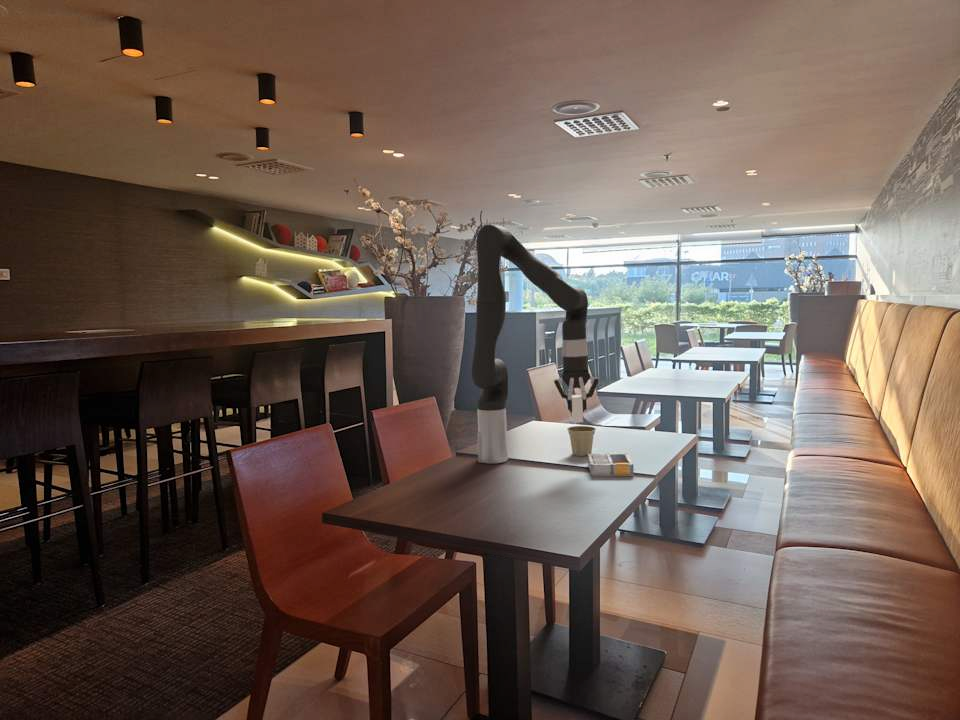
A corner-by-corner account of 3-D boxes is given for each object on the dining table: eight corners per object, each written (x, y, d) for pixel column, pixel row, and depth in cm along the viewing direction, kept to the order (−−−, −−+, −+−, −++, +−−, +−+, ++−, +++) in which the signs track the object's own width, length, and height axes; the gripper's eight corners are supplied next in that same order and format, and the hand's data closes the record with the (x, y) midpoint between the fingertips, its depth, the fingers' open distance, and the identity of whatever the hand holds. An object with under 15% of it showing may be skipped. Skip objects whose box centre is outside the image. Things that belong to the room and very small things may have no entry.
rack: (591, 477, 180) (591, 464, 180) (588, 465, 194) (587, 453, 193) (633, 476, 179) (633, 463, 179) (627, 464, 192) (627, 452, 192)
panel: (572, 422, 184) (572, 399, 184) (571, 417, 192) (571, 395, 192) (583, 422, 184) (582, 398, 183) (581, 417, 192) (580, 394, 191)
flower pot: (595, 450, 212) (594, 425, 211) (597, 457, 202) (597, 431, 202) (567, 451, 213) (566, 426, 212) (568, 457, 203) (567, 431, 203)
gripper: (551, 356, 184) (554, 414, 185) (599, 354, 182) (602, 413, 183) (551, 354, 191) (553, 410, 192) (597, 352, 189) (600, 408, 191)
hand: (577, 411), depth 188 cm, fingers closed on panel, 3 cm apart
